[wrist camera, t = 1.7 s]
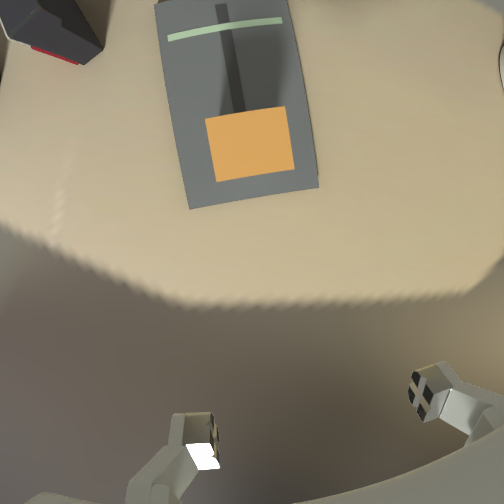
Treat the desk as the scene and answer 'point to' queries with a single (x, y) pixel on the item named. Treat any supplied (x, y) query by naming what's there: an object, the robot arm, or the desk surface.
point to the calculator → (50, 28)
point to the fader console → (232, 88)
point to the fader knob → (250, 143)
